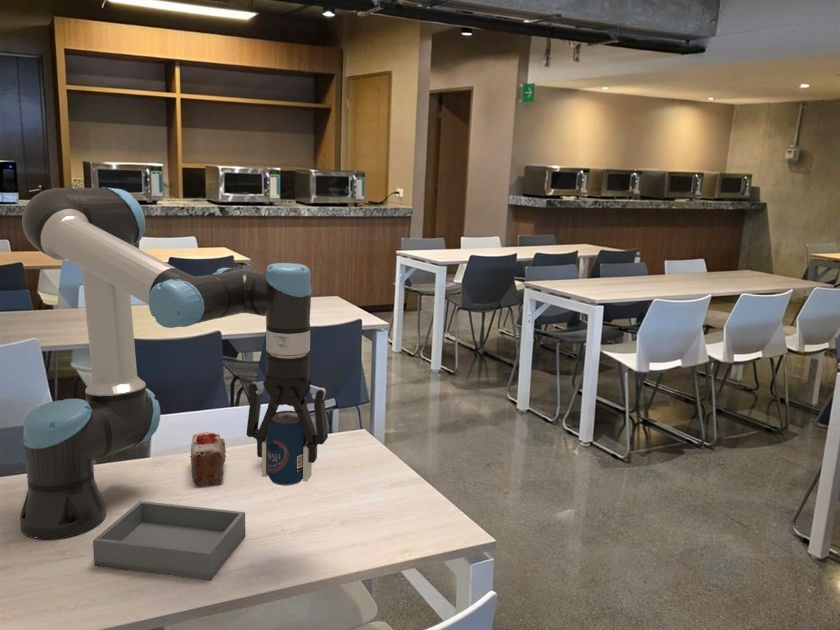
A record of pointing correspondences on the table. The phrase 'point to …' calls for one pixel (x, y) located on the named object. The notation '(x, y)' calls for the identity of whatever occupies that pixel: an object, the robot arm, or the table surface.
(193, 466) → the food item
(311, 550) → the table surface
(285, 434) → the soda can
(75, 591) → the table surface
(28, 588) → the table surface
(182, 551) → the bin
